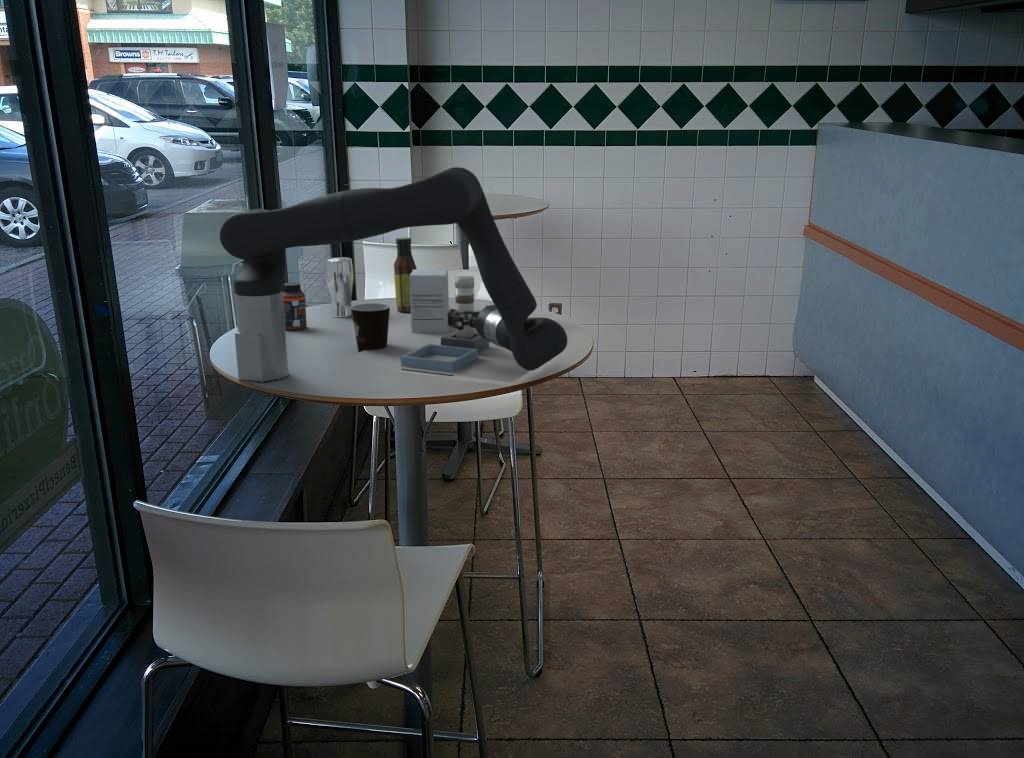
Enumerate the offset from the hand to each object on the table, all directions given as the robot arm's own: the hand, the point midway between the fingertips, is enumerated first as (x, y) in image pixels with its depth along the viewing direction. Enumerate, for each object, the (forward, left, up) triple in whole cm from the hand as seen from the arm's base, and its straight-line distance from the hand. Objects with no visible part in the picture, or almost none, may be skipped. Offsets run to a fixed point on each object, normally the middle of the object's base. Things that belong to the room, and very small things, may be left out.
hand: (469, 311), depth 194 cm
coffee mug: (-3, +23, -10) cm, 25 cm away
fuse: (+2, +2, -9) cm, 9 cm away
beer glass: (+25, +50, -10) cm, 57 cm away
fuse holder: (+2, +2, -10) cm, 10 cm away
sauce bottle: (+37, +37, -10) cm, 53 cm away
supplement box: (+17, +19, -10) cm, 27 cm away
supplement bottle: (+7, +52, -10) cm, 53 cm away
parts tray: (-10, +2, -10) cm, 14 cm away
